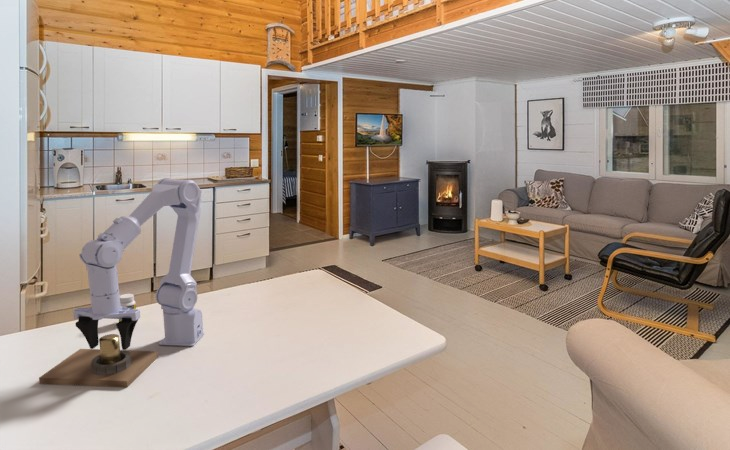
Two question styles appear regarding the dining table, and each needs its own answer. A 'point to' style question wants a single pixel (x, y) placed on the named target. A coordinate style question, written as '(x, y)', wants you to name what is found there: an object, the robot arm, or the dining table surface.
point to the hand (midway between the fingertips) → (110, 347)
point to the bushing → (110, 349)
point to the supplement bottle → (127, 301)
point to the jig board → (99, 369)
